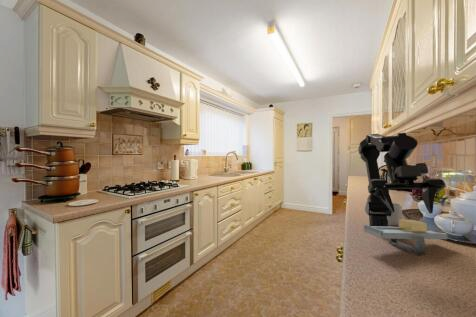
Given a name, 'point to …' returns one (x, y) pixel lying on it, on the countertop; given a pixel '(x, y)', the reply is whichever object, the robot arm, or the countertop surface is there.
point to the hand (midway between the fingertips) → (411, 212)
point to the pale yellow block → (412, 226)
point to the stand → (417, 250)
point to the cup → (395, 215)
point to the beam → (401, 233)
